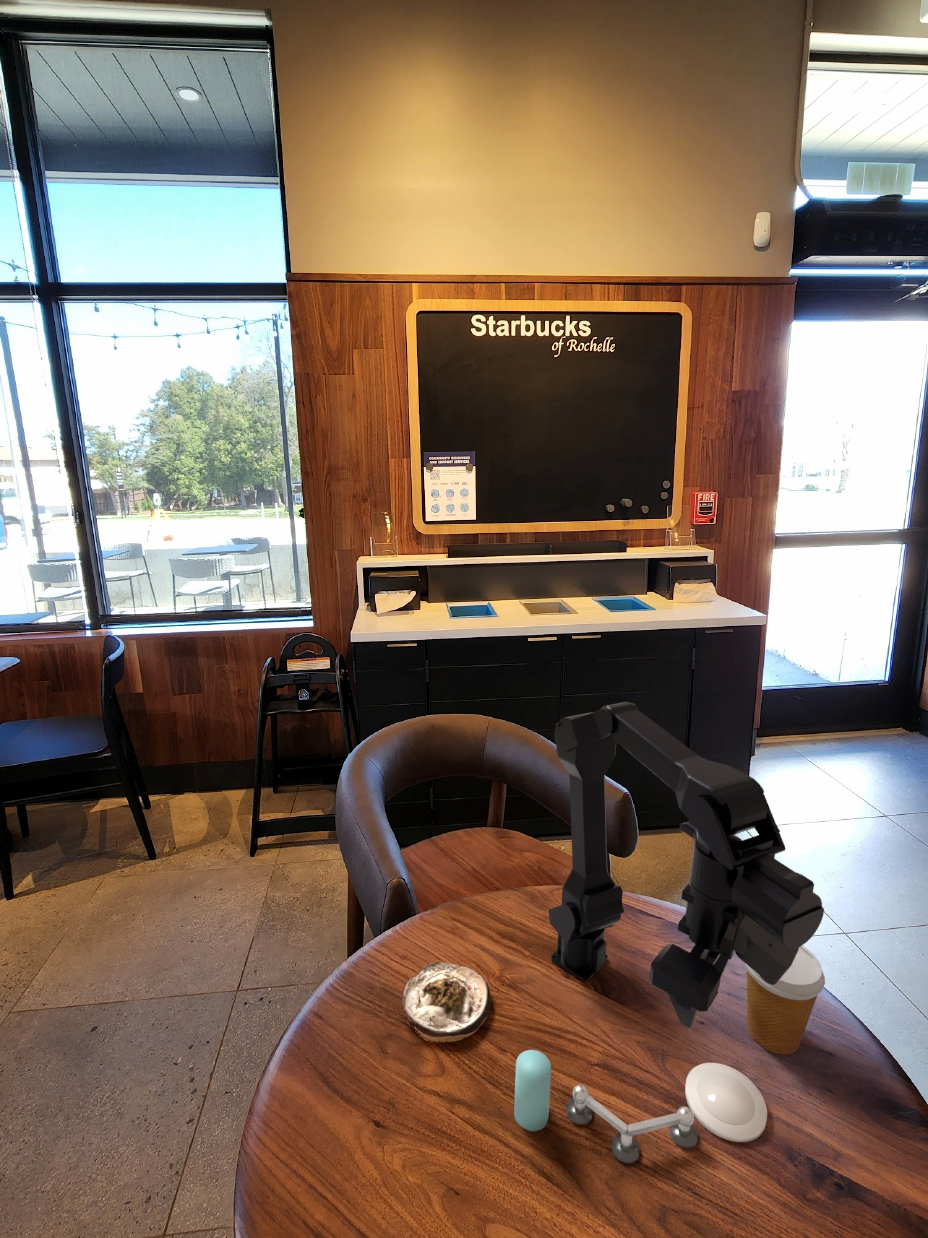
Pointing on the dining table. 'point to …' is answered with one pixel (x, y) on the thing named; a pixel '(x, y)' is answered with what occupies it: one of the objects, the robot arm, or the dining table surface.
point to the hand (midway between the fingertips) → (701, 999)
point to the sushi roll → (446, 1002)
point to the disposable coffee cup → (783, 1003)
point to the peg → (532, 1090)
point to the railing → (631, 1125)
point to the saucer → (726, 1102)
